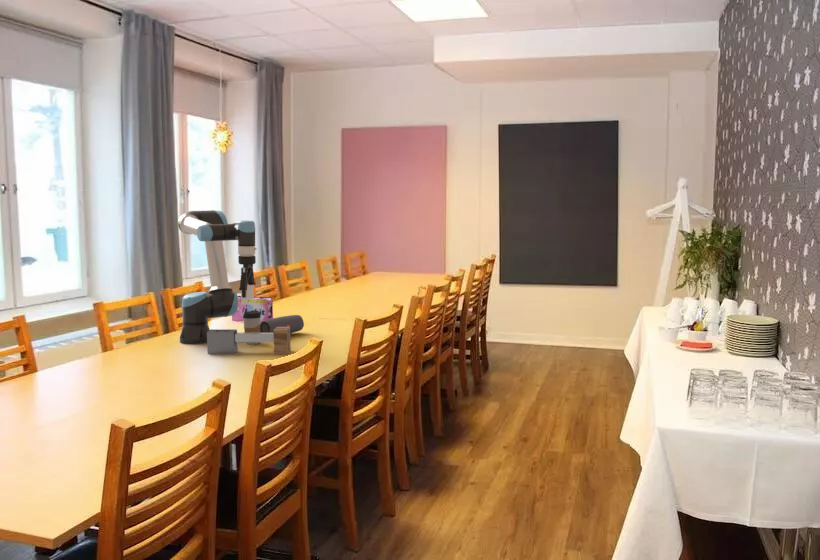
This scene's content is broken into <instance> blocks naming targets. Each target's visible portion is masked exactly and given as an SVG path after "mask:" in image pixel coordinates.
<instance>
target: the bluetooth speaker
mask: <svg viewBox="0 0 820 560" xmlns="http://www.w3.org/2000/svg"><path fill="white" fill-rule="evenodd" d="M302 317H303V316H301V315H300V314H290V315H285V316H284V315H283V316H278V317H273V319H269V320H265V321H262V322H261V323H260V333H273V330H274V329H275V328H276V327H290V336H292V334H294V333H297V332H300V331H302V330H303V329H304V326H305V323H304V322H305V321H304V319H303V318H302Z"/></svg>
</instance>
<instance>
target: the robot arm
mask: <svg viewBox="0 0 820 560" xmlns="http://www.w3.org/2000/svg"><path fill="white" fill-rule="evenodd" d="M177 226H178V228H179V230H180V231H181V233H183V234H186V235H193V236H196V237H197V239H198V241H200V242H204V244H205V245H204V246H205V252H206V253H205V254H206V260H207V268H208V274H209V275H208V276H209V284H210V289H208V294H207V292H206V291H197V292H192V293H188V294H186V295H184V296H182V298H181V309H182V311H181V313H182V328H181V331H180V334H179V342H180V343H181V344H187V345H188V344H193V345H194V344H195V345H197V344H204V343H207V332H208V331H209V330H211V329H210V327H209V322H208V319H215V318H227V317H232V316H233V315H234V314H235V313H236V311H237V308H238V296H239V295H238V294H237V292H234V291H233V290H234V289H233V288H232V287H231V286H230V284H229V277H228V271H227V269H228V268H227V262H226V258H225V257H226V256H225V250H224V249H225V248H224V241H225V242H226V241H237V245H238V246H237V248H238V249H237V255H238V258H237V259H238V264H239V265H242V267H241V269H240V284H239V288H238V290H239V291H240V296H241V305H248V299H254V296H255V295H254V294H255V292H254V291H255V288H254V287H255V285H256V282H255V274H254V265H255V264H256V251H257V250H258V249H257V247H256V223H255V221H254V220H239V221H238V222H233V223H228V220H227V216H226V215H225V213H224V212H223V211H222V210H215V209H214V210H213V209H211V210H190V211H187V212H184V213H182V215H180V216H179V218H178V220H177Z"/></svg>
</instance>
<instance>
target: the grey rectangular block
mask: <svg viewBox="0 0 820 560" xmlns="http://www.w3.org/2000/svg"><path fill="white" fill-rule="evenodd" d="M234 333H238V329H234V328H232V329H230V328H229V329H210V330H209V331H208V332H207V342H206V346H207V347H206V349H207V355H234V354H236V353H237V352H238V350H239V349H238V342H234Z"/></svg>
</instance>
